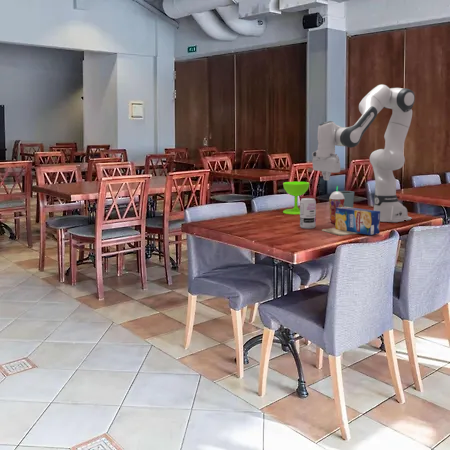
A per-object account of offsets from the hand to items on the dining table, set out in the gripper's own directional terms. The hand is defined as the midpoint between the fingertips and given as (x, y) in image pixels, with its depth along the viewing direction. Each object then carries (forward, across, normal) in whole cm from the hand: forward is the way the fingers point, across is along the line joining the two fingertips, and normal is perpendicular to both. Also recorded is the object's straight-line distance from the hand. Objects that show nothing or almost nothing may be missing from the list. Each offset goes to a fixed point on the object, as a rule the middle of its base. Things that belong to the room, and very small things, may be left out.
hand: (326, 180), depth 294 cm
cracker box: (+18, -10, -1) cm, 21 cm away
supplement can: (+24, +3, +10) cm, 27 cm away
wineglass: (+25, +49, -11) cm, 56 cm away
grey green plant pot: (+26, +37, -39) cm, 60 cm away
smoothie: (+25, +7, -11) cm, 28 cm away
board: (+25, -16, +1) cm, 29 cm away
